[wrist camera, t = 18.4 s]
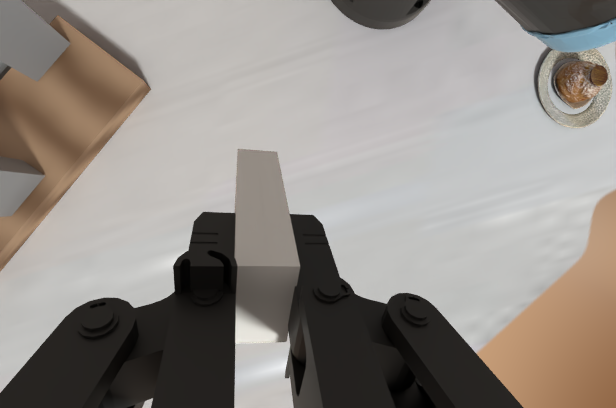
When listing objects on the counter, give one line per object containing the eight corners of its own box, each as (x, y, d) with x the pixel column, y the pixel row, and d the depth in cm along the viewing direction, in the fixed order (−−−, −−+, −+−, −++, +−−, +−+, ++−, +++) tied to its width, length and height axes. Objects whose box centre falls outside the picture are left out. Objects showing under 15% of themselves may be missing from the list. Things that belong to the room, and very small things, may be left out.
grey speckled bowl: (578, 28, 50) (611, 12, 45) (617, 100, 51) (653, 91, 47) (517, 72, 48) (545, 60, 44) (559, 145, 49) (590, 140, 45)
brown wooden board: (72, 29, 38) (57, 15, 35) (150, 89, 39) (143, 80, 36) (-138, 270, 35) (-173, 276, 32) (-44, 324, 36) (-70, 335, 33)
